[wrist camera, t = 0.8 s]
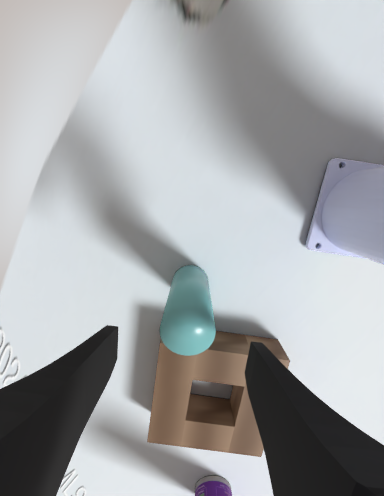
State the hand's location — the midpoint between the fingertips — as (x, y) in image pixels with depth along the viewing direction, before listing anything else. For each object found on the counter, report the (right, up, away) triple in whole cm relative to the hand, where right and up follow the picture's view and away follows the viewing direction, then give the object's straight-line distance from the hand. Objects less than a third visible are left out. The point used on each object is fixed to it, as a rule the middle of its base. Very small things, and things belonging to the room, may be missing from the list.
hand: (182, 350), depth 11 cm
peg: (0, +2, +10) cm, 10 cm away
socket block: (+3, -9, +12) cm, 15 cm away
